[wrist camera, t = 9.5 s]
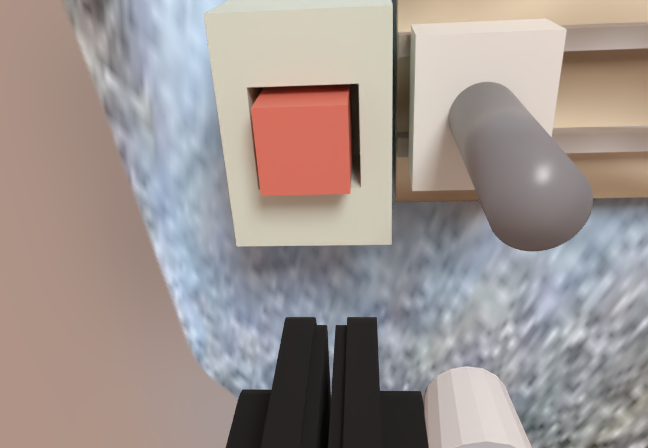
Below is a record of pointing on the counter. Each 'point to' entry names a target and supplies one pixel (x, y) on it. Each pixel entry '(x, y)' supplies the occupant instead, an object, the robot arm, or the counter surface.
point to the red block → (303, 139)
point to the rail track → (574, 87)
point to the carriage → (495, 126)
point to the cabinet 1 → (298, 70)
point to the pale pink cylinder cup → (471, 412)
